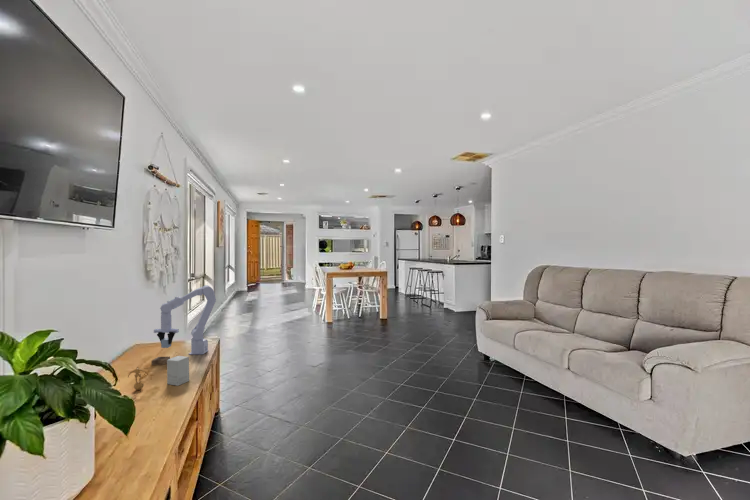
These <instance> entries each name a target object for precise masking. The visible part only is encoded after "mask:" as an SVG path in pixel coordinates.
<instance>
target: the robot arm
mask: <svg viewBox="0 0 750 500" xmlns="http://www.w3.org/2000/svg"><path fill="white" fill-rule="evenodd" d="M196 296H204V297H205V298H206V303H205V306H204V308H203V310H202V312H201V314H200V317H199V319H198V322H197V324H196V325H195V326H194V328H193V329H192V330H191V333H190V335H191V337H192V338H191V339H190V344H191V345H190V347H191V351H190V352H189V353H188V355H204V354H205V353H207V352H209V342H208V341H209V340H208V339H205V338H204V331H205V326H206V325H207V322H208V319H209V317H210V315H211V313H212V310H213V308H214V306H215V304H216V302H217V299H216V294H215V290H214V289H213V288H212V287H211V286H210V285H207V284H206V285H203V286H200V287H198V288H195V289H193V290H192V291H190V292H189V293H186V294H185V295H183V296H174V298H173V299H171V300H167V301H166V302H164V303H162V304H161V305H160V308H159V309H160V311H161V312H160V328H155V329H153V333H154V334H156V336H157V337H158V339H159V342H160V343H161V340H162V339H164V338H166V337H165V335H167V338H168V343H169V344H171V345H172V342H173V340H174V339H173V338H174V337H175V335H176V334H178V333H179V332H180V330H179V328H172V310H175V309H177V308H178V307H181V306H183V305H184V304H185V302H186V301H188V300H190V299H193V298H195V297H196ZM166 333H167V334H166Z"/></svg>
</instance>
